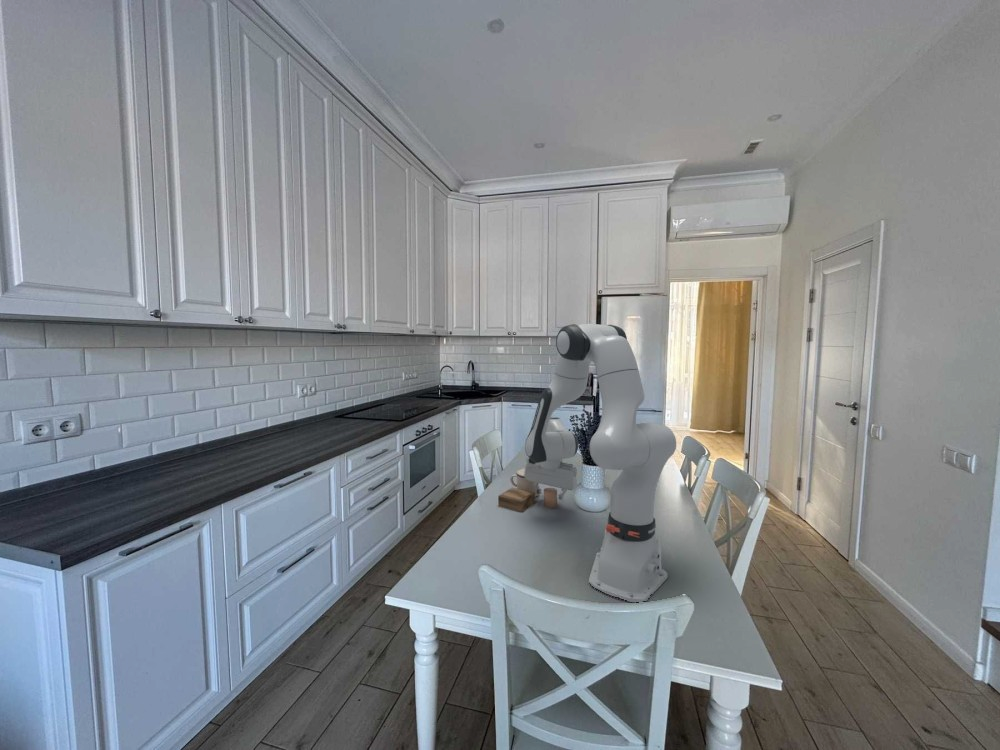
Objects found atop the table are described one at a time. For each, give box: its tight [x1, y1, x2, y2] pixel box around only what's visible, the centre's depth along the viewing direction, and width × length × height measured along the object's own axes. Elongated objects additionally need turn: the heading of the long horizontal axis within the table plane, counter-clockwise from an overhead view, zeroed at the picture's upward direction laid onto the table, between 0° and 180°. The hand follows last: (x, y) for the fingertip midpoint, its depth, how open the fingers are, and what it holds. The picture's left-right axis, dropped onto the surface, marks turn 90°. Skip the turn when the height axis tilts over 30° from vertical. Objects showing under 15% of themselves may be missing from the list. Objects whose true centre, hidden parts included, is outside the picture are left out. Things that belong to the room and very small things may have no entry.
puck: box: [543, 487, 558, 510], centre depth 147 cm, size 5×5×6 cm
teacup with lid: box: [510, 467, 539, 498], centre depth 158 cm, size 12×9×12 cm
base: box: [497, 487, 536, 513], centre depth 148 cm, size 10×10×4 cm
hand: (549, 496), depth 147 cm, fingers open, 8 cm apart
